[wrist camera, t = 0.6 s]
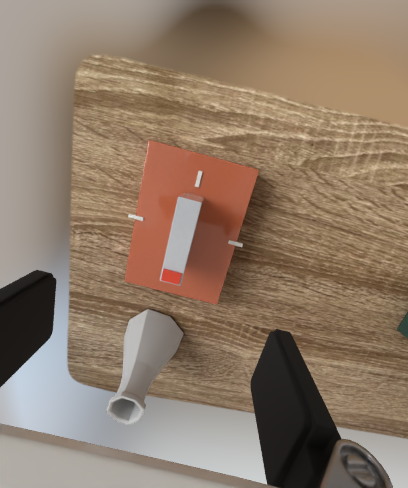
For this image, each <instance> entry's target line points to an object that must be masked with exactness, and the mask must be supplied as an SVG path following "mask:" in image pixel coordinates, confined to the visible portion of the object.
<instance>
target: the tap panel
mask: <svg viewBox="0 0 408 488" xmlns="http://www.w3.org/2000/svg"><path fill="white" fill-rule="evenodd" d="M258 173H259V170H258V169H254V168H250V167H247V166H243V165H240V164H236V163H232V162H229V161H225V160H221V159H218V158H214V157H210V156H207V155H203V154H200V153H196V152H192V151H189V150H185V149H181V148H178V147H174V146H170V145H167V144H163V143H159V142H156V141H152V140H149V143H148V149H147V154H146V160H145V166H144V172H143V177H142V183H141V189H140V194H139V200H138V206H137V212H136V215H133V214H129V216H128V217H129V218H133V219H135V223H134V229H133V235H132V240H131V246H130V252H129V258H128V263H127V269H126V275H125V281H126V282H129V283H133V284H137V285H141V286H145V287H149V288H153V289H157V290H161V291H165V292H169V293H173V294H177V295H181V296H185V297H189V298H193V299H196V300H200V301H204V302H208V303H212V304H216V305H217V303H218V300H219V297H220V294H221V290H222V287H223V284H224V281H225V278H226V275H227V271H228V268H229V265H230V262H231V259H232V256H233V252H234V249H235V246H239V247H242V246H243V243H239V242H237V240H238V236H239V233H240V230H241V227H242V224H243V221H244V217H245V214H246V211H247V208H248V205H249V202H250V198H251V195H252V192H253V189H254V186H255V183H256V179H257V176H258ZM185 192H188V193H191V194H195V195H199V196H202V197H204V201H203V205H202V209H201V213H200V216H199V220H198V224H197V228H196V232H195V236H194V240H193V244H192V248H191V251H190V255H189V259H188V263H187V267H186V270H185V273H184V277H183V280H182V283H181V286H179V285H175V284H171V283H167V282H163V281H160V275H161V271H162V266H163V262H164V257H165V253H166V249H167V244H168V240H169V235H170V231H171V226H172V222H173V217H174V213H175V208H176V204H177V199H178V197H179V196H180V195H182V194H183V193H185Z"/></svg>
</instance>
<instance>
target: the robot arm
mask: <svg viewBox="0 0 408 488" xmlns="http://www.w3.org/2000/svg"><path fill="white" fill-rule="evenodd" d="M55 291H56V279H55V278H53V275H52V274H51V273H47V272H44V271H39V270H36V271H33V272H31V273H29V274H28V275H26V276H24V277H22V278H20V279H19V280H17V281H15V282H13V283H11V284H9V285H7V286H5V287H3V288H1V289H0V387H1V386H2V385H3V384H4V383H5V382H6V381H7V380H8V379H9V378H10V377H11V376H12V375H13V374H14V373H15V372H16V371H17V370H18V369H19V368H20V367H21V366H22V365H23V364H24V363H25V362H26V361H27V360H28V359H29V358H30V357H31V356H32V355H33V354H34V353H35V352H36V351H37V350H38V349H39V348H40V347H41V346H42V345H43V344H44V343H45V342H46V341H47V340H48V339H49V338H50V336H51V334H52V331H53V319H54V305H55ZM251 393H252V399H253V404H254V410H255V416H256V422H257V428H258V433H259V440H260V445H261V451H262V457H263V463H264V468H265V474H266V480H267V484H268V485H266V484H262V483H258V482H254V481H251V480H247V479H243V478H239V477H235V476H231V475H226V474H222V473H217V472H213V471H209V470H205V469H200V468H196V467H191V466H187V465H183V464H179V463H174V462H170V461H165V460H161V459H157V458H153V457H148V456H144V455H139V454H135V453H130V452H126V451H122V450H117V449H113V448H109V447H103V446H99V445H95V444H91V443H86V442H82V441H77V440H73V439H68V438H64V437H59V436H55V435H50V434H46V433H41V432H36V431H32V430H27V429H23V428H18V427H13V426H9V425H4V424H0V488H393V486H392V483H391V481H390V478H389V476H388V474H387V473H386V471H385V470H384V468H383V467H382V465H381V464H380V463H379V462H378V461H377V459H376V458H375V457H374V456H373V455H372V454H371V453H370V452H369V451H367V450H366V449H365V448H364V447H362V446H361V445H359V444H358V443H356V442H353V441H351V440H347V439H341V437H340V435H339V433H338V431H337V428H336V426H335V424H334V422H333V420H332V418H331V416H330V414H329V411H328V409H327V407H326V405H325V403H324V401H323V399H322V397H321V395H320V393H319V391H318V389H317V387H316V385H315V382H314V380H313V378H312V376H311V374H310V372H309V370H308V368H307V366H306V364H305V362H304V360H303V358H302V356H301V353H300V351H299V349H298V347H297V345H296V343H295V341H294V339H293V337H292V335H291V333H290V332H287V331H283V330H279V329H276V330H275V331H274V332H273V331H271V332H270V334H269V336H268V339H267V341H266V344H265V346H264V349H263V351H262V354H261V356H260V359H259V361H258V364H257V366H256V369H255V371H254V374H253V376H252V379H251Z"/></svg>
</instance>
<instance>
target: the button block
mask: <svg viewBox="0 0 408 488" xmlns="http://www.w3.org/2000/svg"><path fill="white" fill-rule="evenodd" d="M397 330H398V331H400V332H401V333H402V334H403V335H404V336H405V337H407V338H408V312H407V314H406V316H405V317H404V319H403V321H402V322H401V324H400V326H399V327H398V329H397Z"/></svg>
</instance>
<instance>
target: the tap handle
mask: <svg viewBox="0 0 408 488" xmlns="http://www.w3.org/2000/svg"><path fill="white" fill-rule="evenodd" d="M203 201H204V197H202V196H199V195H195V194H191V193H188V192H185V193H183V194H182V195H180V196H179V197H178V199H177V204H176V208H175V213H174V217H173V222H172V226H171V231H170V235H169V240H168V244H167V249H166V253H165V257H164V262H163V266H162V271H161V275H160V281H163V282H167V283H171V284H175V285H179V286H181V283H182V280H183V277H184V273H185V270H186V267H187V263H188V259H189V255H190V251H191V248H192V244H193V240H194V236H195V232H196V228H197V224H198V220H199V216H200V213H201V209H202V205H203Z"/></svg>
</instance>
